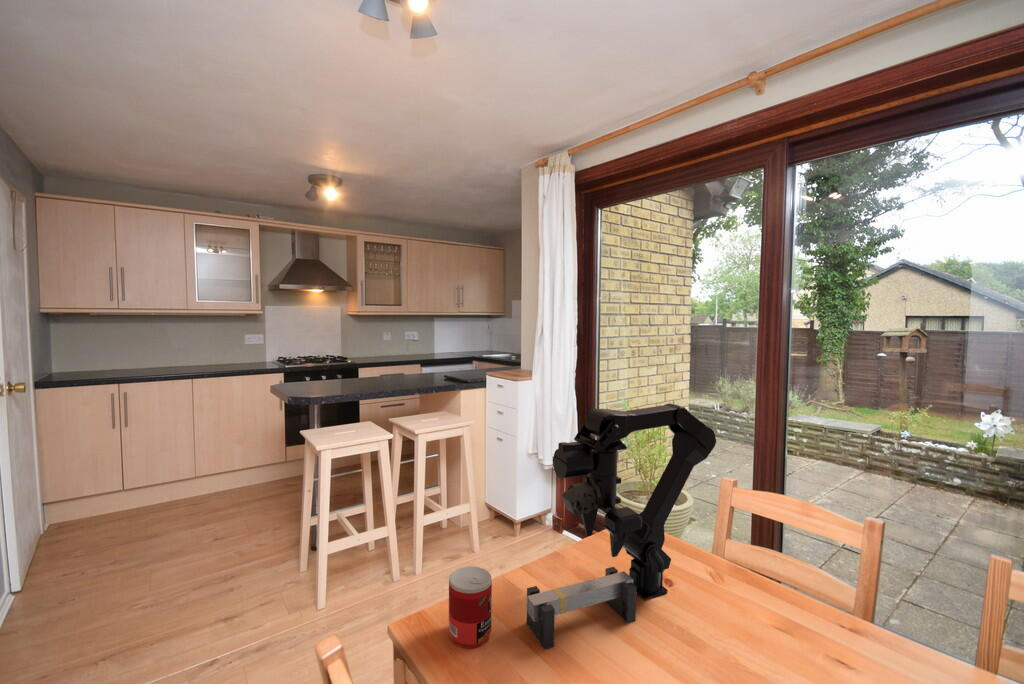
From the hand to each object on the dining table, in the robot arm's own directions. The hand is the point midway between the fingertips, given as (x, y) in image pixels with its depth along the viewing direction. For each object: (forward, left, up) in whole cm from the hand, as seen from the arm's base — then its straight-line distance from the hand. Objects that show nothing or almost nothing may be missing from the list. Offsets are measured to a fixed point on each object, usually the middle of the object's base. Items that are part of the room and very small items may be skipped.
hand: (601, 545), depth 94 cm
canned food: (+28, -1, -12) cm, 31 cm away
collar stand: (+7, +4, -12) cm, 14 cm away
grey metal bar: (+7, +4, -8) cm, 11 cm away
